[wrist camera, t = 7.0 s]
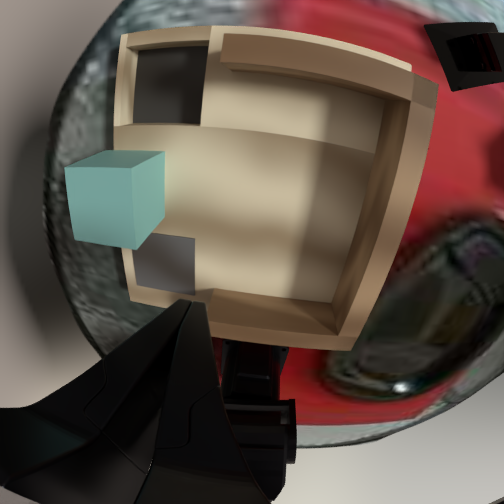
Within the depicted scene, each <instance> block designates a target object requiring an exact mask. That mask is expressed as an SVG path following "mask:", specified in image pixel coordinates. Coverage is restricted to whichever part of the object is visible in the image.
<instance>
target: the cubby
mask: <svg viewBox="0 0 504 504" xmlns="http://www.w3.org/2000/svg"><path fill="white" fill-rule="evenodd" d="M220 62H221V63H222V64H223V65H225V66H226V67H227V68H228V69H230V70H231V71H236V72H249V73H260V74H269V75H276V76H284V77H290V78H297V79H302V80H308V81H313V82H318V83H323V84H328V85H332V86H337V87H341V88H345V89H349V90H353V91H356V92H360V93H363V94H367V95H370V96H374V97H377V98H380V99H383V100H385V102H384V109H383V115H382V120H381V126H380V131H379V136H378V141H377V146H376V151H375V156H374V160H373V165H372V169H371V173H370V177H369V182H368V186H367V190H366V194H365V197H364V201H363V205H362V209H361V212H360V216H359V219H358V223H357V226H356V230H355V233H354V236H353V240H352V243H351V246H350V249H349V253H348V256H347V259H346V262H345V265H344V268H343V271H342V274H341V277H340V280H339V283H338V285H337V288H336V291H335V294H334V297H333V299H332V302H331V303H327V302H317V301H308V300H300V299H291V298H283V297H275V296H267V295H260V294H252V293H245V292H238V291H231V290H224V289H218V288H214V291H213V294H212V297H211V301H210V304H209V307H208V311H207V314H208V320H209V326H210V332H211V336H212V337H219V338H225V339H232V340H238V341H246V342H253V343H261V344H270V345H279V346H289V347H299V348H312V349H326V350H344V351H351V349H352V347H353V345H354V343H355V342H356V340H357V338H358V336H359V334H360V332H361V330H362V328H363V326H364V324H365V322H366V320H367V318H368V316H369V314H370V312H371V310H372V308H373V306H374V304H375V302H376V299H377V297H378V295H379V293H380V291H381V288H382V286H383V284H384V281H385V279H386V277H387V274H388V272H389V270H390V267H391V265H392V262H393V260H394V257H395V255H396V252H397V249H398V247H399V244H400V241H401V239H402V236H403V233H404V230H405V227H406V224H407V221H408V218H409V215H410V212H411V209H412V206H413V203H414V200H415V196H416V193H417V189H418V186H419V182H420V179H421V175H422V171H423V167H424V163H425V159H426V155H427V150H428V146H429V141H430V136H431V131H432V126H433V120H434V115H435V108H436V102H437V94H438V86H439V84H437V83H435V82H432V81H430V80H428V79H426V78H424V77H421V76H419V75H417V74H415V73H412V72H410V71H407V70H405V69H402V68H400V67H397V66H394V65H392V64H389V63H386V62H383V61H380V60H377V59H374V58H371V57H368V56H365V55H361V54H358V53H354V52H351V51H347V50H343V49H339V48H335V47H331V46H327V45H322V44H317V43H312V42H307V41H301V40H295V39H288V38H281V37H273V36H263V35H251V34H233V33H224V36H223V43H222V50H221V58H220Z"/></svg>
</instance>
